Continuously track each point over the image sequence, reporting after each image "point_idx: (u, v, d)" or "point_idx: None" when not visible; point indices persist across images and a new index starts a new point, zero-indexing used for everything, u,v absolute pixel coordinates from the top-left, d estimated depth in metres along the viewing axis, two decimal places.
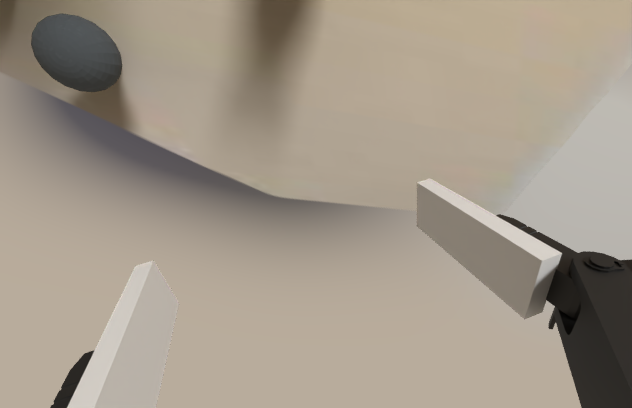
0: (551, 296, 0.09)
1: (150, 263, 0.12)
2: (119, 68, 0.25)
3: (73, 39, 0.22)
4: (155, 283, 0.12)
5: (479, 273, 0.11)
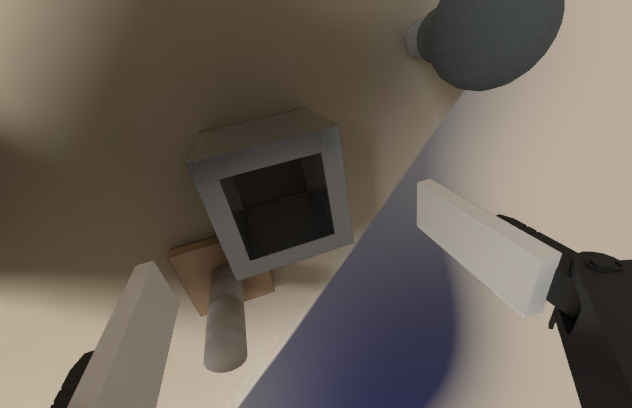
0: (551, 296, 0.09)
1: (150, 263, 0.12)
2: None
3: None
4: (155, 283, 0.12)
5: (479, 273, 0.11)
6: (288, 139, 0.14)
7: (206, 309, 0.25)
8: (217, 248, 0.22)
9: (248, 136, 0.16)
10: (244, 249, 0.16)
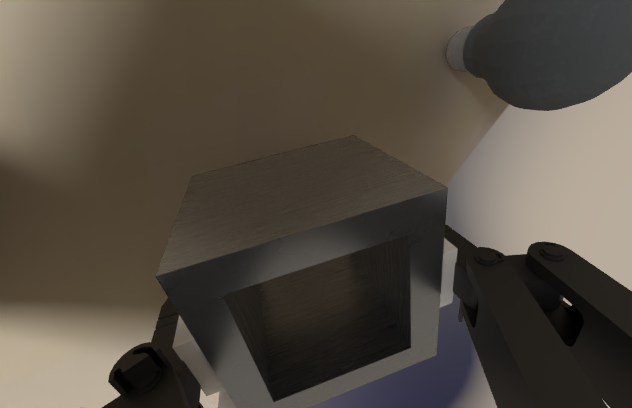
0: (455, 288, 0.10)
1: None
2: None
3: None
4: None
5: None
6: (356, 218, 0.07)
7: None
8: None
9: (274, 197, 0.09)
10: (265, 389, 0.10)
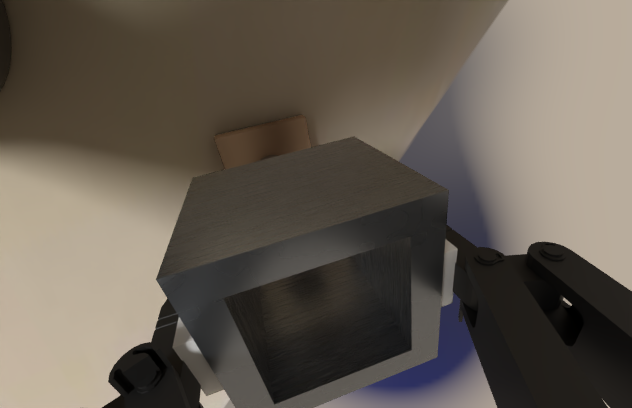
0: (455, 288, 0.10)
1: None
2: None
3: None
4: None
5: None
6: (357, 220, 0.07)
7: None
8: (266, 133, 0.21)
9: (274, 200, 0.09)
10: (265, 391, 0.10)
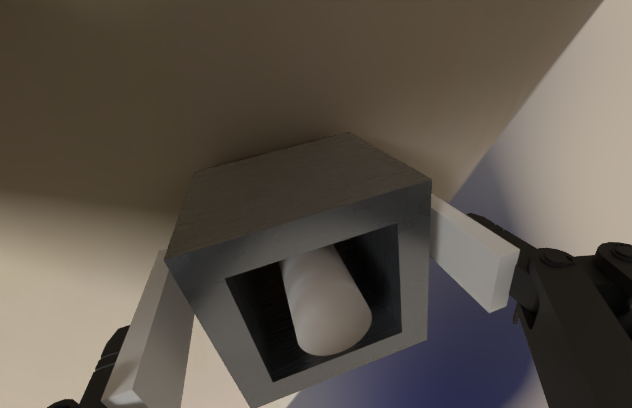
0: (513, 291, 0.10)
1: None
2: None
3: None
4: None
5: (450, 269, 0.12)
6: (347, 207, 0.08)
7: None
8: None
9: (272, 190, 0.10)
10: (264, 369, 0.10)
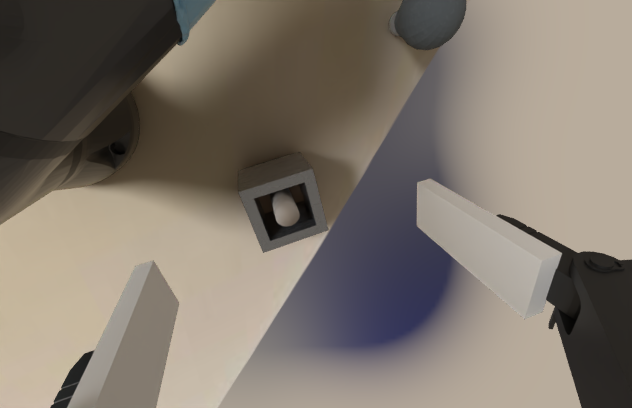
0: (551, 296, 0.09)
1: (150, 263, 0.12)
2: None
3: None
4: (155, 283, 0.12)
5: (479, 273, 0.11)
6: (287, 177, 0.28)
7: None
8: None
9: (267, 174, 0.30)
10: (266, 234, 0.31)
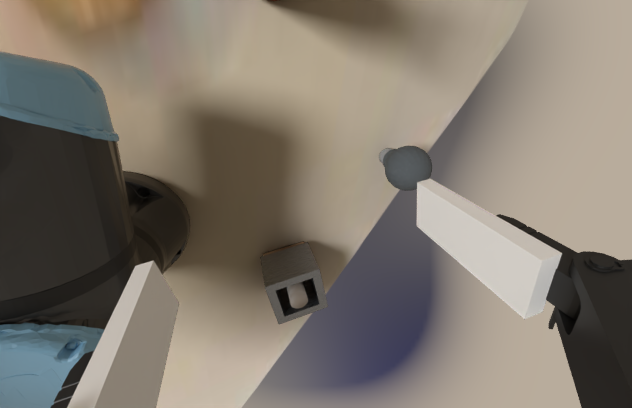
0: (551, 296, 0.09)
1: (150, 263, 0.12)
2: None
3: (413, 168, 0.34)
4: (155, 283, 0.12)
5: (479, 273, 0.11)
6: (300, 275, 0.39)
7: None
8: None
9: (284, 268, 0.41)
10: (282, 312, 0.41)
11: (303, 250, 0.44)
